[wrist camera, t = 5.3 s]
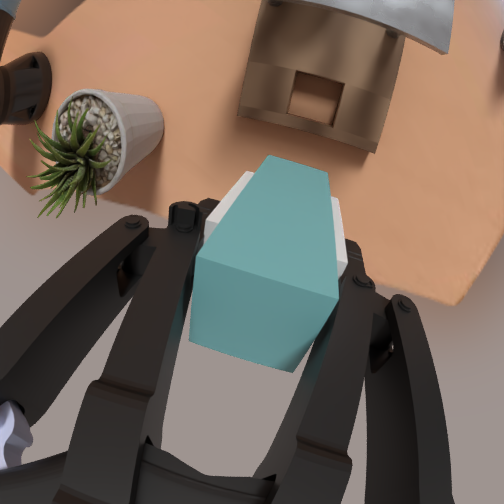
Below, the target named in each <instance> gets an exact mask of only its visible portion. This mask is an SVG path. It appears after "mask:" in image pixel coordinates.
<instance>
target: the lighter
mask: <svg viewBox="0 0 504 504" xmlns="http://www.w3.org/2000/svg"><path fill="white" fill-rule="evenodd" d="M500 44H501V47H502V49H503V50H504V31H503V33H502V36H501V40H500Z"/></svg>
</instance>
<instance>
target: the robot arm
mask: <svg viewBox="0 0 504 504" xmlns="http://www.w3.org/2000/svg"><path fill="white" fill-rule="evenodd" d="M20 2H21V0H0V61H1V57H2V53H3V50H4V47H5V43H6V40H7V37H8V34H9V31H10V29H11V26H12V23H13V20H15V18H16V12H17V9H18V7H19V4H20ZM50 90H51V68H50V63H49V61H48V58H47V57H46V56H45V54H43V53H41V52H32V53H27V54H25V55H23V56H21V57H19V58H17V59H15V60H13V61H11V62H10V63H8V64H6V65H4V66H0V125H2V124H8V125H26V124H29V123H32V122H34V120H35V121H36V120H37V119H39V117H40V116H41V115H42V113H43V112H44V110H45V108H46V105H47V102H48V99H49V95H50ZM254 174H255V173H253V172H249V171H246V172H245V173H244V174H243V176H242V177H241V178H240V179H239V180H238V181H237V183H236V184H235V185H234V186H233V187H232V189H231V190H230V191H229V192H228V193H227V194H226V196H225V197H224V198H223V199H222V200H221V201H218V200H214V199H210V198H207V199H205V200H202V201H200V203H199V204H196V203H192V202H186V201H181V202H176V203H173V204H171V205H170V206H169V220H168V226H167V228H165V229H163V228H149V222H148V220H147V219H146V218H145V217H143V216H138V215H129V216H125V217H123V218H121V219H120V220H118V221H117V222H116V223H114V224H113V225H112V226H110V227H109V228H108V229H107V230H105V231H104V232H103V233H101V234H100V235H99V236H98V237H96V238H95V239H94V240H93V241H91V242H90V243H89V244H88V245H87V246H86V247H84V248H83V249H82V250H81V251H79V252H78V253H77V254H76V255H75V256H74V257H72V258H71V259H70V260H69V261H68V262H67V263H65V264H64V265H63V266H62V267H61V268H60V269H59V270H58V271H57V272H55V273H54V274H53V275H52V276H51V277H50V278H49V279H48V280H47V281H46V282H45V283H43V284H42V286H41V287H39V288H38V289H37V290H36V291H35V292H34V293H33V294H32V295H31V296H30V297H29V298H28V299H27V300H26V301H25V302H24V303H23V304H22V305H21V306H20V307H19V308H18V309H17V310H16V311H15V312H14V314H13V315H12V316H11V317H10V318H9V319H8V320H7V321H6V322H5V323H4V324H3V325H2V327H1V328H0V504H341V501H342V498H343V495H344V492H345V490H346V486H347V484H348V481H349V478H350V474H351V470H352V459H351V458H350V457H349V456H348V455H347V449H348V445H349V442H350V438H351V434H352V430H353V426H354V423H355V419H356V414H357V410H358V405H359V401H360V396H361V392H362V387H363V381H364V377H365V392H366V415H367V467H366V469H367V470H366V489H365V504H455V503H454V500H453V496H452V483H451V482H452V481H451V463H450V452H449V442H448V434H447V427H446V420H445V415H444V409H443V403H442V398H441V393H440V389H439V384H438V379H437V375H436V371H435V367H434V363H433V359H432V355H431V352H430V348H429V344H428V341H427V338H426V335H425V331H424V328H423V325H422V322H421V319H420V316H419V313H418V310H417V308H416V306H415V304H414V303H413V302H412V301H411V299H409V298H408V297H406V296H403V295H400V294H396V295H393V297H392V298H391V300H388V299H386V298H385V297H383V296H381V295H379V294H378V293H376V292H375V284H374V282H373V281H372V279H371V278H370V277H368V276H367V275H366V273H365V268H364V263H363V258H362V253H361V249H360V247H359V246H358V244H357V243H356V242H354V241H351V240H348V239H345V238H344V231H343V225H342V219H341V213H340V207H339V201H338V198H335V197H332V196H331V203H332V211H333V221H334V231H335V243H336V255H337V270H338V289H339V300H338V302H337V304H336V305H335V307H334V309H333V310H332V312H331V314H330V316H329V317H328V319H327V321H326V322H325V324H324V326H323V327H322V329H321V330H320V332H319V334H318V335H317V337H316V338H315V341H314V344H313V347H312V349H311V352H310V355H309V357H308V360H307V363H306V366H305V368H304V371H303V373H302V376H301V379H300V381H299V383H298V386H297V389H296V391H295V393H294V396H293V398H292V400H291V403H290V405H289V408H288V410H287V412H286V414H285V417H284V419H283V421H282V424H281V426H280V428H279V430H278V432H277V434H276V437H275V439H274V441H273V443H272V445H271V447H270V449H269V451H268V453H267V455H266V457H265V459H264V460H263V461H262V463H261V464H260V465H259V467H258V468H257V470H256V472H255V473H254V475H253V477H224V476H208V475H204V474H202V473H200V472H199V471H197V470H195V469H194V468H192V467H190V466H189V465H187V464H185V463H184V462H182V461H180V460H179V459H178V458H176V457H174V456H173V455H171V454H170V453H168V452H166V451H163V450H161V442H162V427H163V420H164V414H165V410H166V404H167V399H168V394H169V389H170V384H171V379H172V375H173V370H174V365H175V361H176V356H177V351H178V347H179V343H180V339H181V334H182V330H183V325H184V322H185V317H186V313H187V309H188V305H189V301H190V297H191V293H192V290H193V283H194V272H195V263H196V255H197V254H198V252H199V251H200V249H201V248H202V247H203V245H204V244H205V242H206V241H207V239H208V238H209V236H210V235H211V234H212V232H213V231H214V229H215V228H216V226H217V225H218V223H219V222H220V221H221V219H222V218H223V216H224V215H225V214H226V212H227V211H228V209H229V208H230V207H231V205H232V204H233V202H234V201H235V200H236V198H237V197H238V195H239V194H240V193H241V191H242V190H243V189H244V187H245V186H246V184H247V183H248V182H249V180H250V179H251V178H252V176H253V175H254ZM133 295H134V296H133ZM132 297H133V298H132ZM131 298H132V300H131V303H130V305H129V307H128V310H127V312H126V314H125V317H124V319H123V321H122V324H121V326H120V329H119V331H118V333H117V336H116V338H115V341H114V344H113V346H112V349H111V351H110V354H109V357H108V359H107V362H106V365H105V367H104V370H103V373H102V375H101V377H100V378H99V379H98V380H94V381H92V382H91V383H90V385H89V386H88V388H87V391H86V393H85V396H84V399H83V402H82V405H81V408H80V411H79V414H78V417H77V420H76V424H75V427H74V431H73V434H72V438H71V441H70V445H69V449H68V451H66V452H63V453H60V454H57V455H54V456H51V457H47V458H45V459H41V460H37V461H34V462H31V463H27V464H23V465H22V464H21V456H22V452H23V450H24V449H25V448H26V447H30V446H31V445H32V443H33V437H32V434H31V432H30V427H31V426H33V425H34V424H35V423H36V422H37V421H38V420H39V419H40V418H41V417H42V416H43V415H44V414H45V412H46V411H47V410H48V408H49V407H50V406H51V404H52V403H53V402H54V400H55V399H56V397H57V396H58V394H59V393H60V391H61V390H62V388H63V387H64V386H65V384H66V383H67V381H68V380H69V378H70V377H71V376H72V374H73V373H74V371H75V370H76V369H77V367H78V366H79V365H80V363H81V362H82V360H83V359H84V358H85V356H86V355H87V354H88V352H89V351H90V350H91V348H92V347H93V346H94V344H95V343H96V342H97V340H98V339H99V338H100V336H101V335H102V334H103V333H104V331H105V330H106V329H107V328H108V326H109V325H110V324H111V323H112V321H113V320H114V319H115V317H116V316H117V315H118V314H119V313H120V311H121V310H122V309H123V308H124V306H125V305H126V304H127V302H128V301H129V300H130V299H131ZM392 345H393V349H392Z"/></svg>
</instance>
